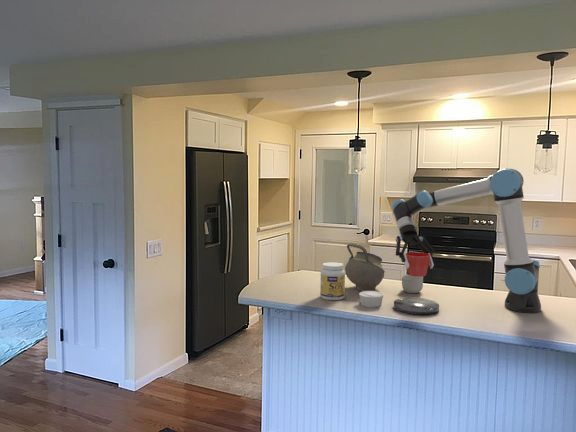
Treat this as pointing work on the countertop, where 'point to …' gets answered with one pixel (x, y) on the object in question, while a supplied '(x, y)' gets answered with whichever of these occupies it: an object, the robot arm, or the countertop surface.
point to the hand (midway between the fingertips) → (420, 267)
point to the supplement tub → (332, 281)
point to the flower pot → (418, 263)
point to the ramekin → (371, 298)
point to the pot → (364, 269)
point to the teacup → (412, 283)
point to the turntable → (416, 305)
